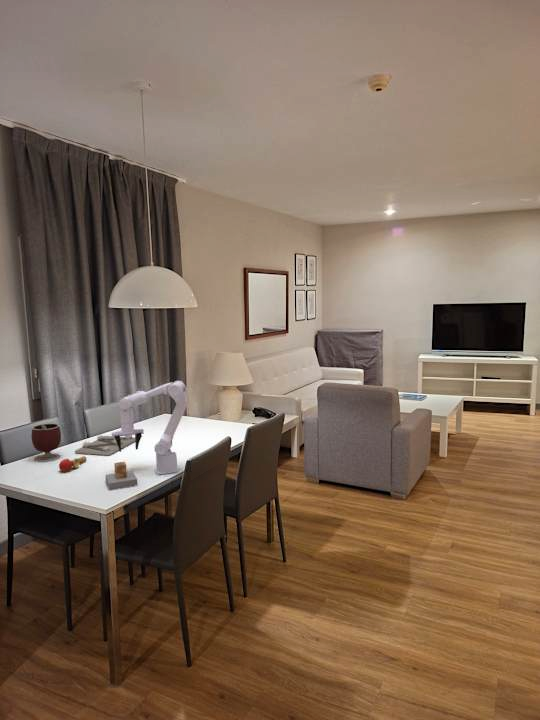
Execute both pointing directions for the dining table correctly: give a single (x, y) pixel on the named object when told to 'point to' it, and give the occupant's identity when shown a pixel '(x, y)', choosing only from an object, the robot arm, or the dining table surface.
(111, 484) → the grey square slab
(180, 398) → the robot arm
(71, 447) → the dining table surface
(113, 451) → the grey piece
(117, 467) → the walnut block
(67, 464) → the kendama
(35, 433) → the mate gourd
